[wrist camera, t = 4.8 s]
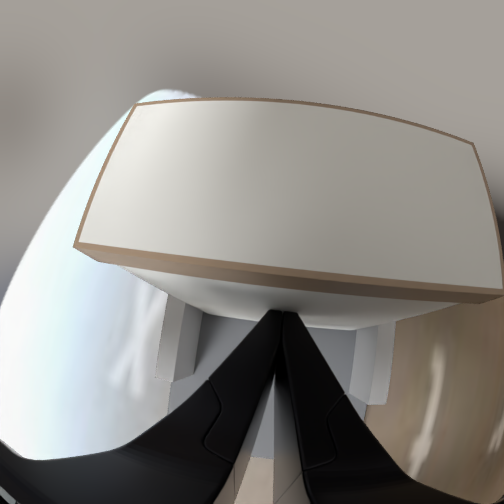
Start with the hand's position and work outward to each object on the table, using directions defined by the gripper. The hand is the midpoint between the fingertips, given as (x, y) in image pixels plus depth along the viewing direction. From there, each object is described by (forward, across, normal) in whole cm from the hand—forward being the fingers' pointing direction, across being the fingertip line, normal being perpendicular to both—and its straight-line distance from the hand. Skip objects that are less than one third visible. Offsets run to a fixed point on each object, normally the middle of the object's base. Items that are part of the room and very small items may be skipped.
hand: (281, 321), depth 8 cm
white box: (+5, 0, +2) cm, 5 cm away
